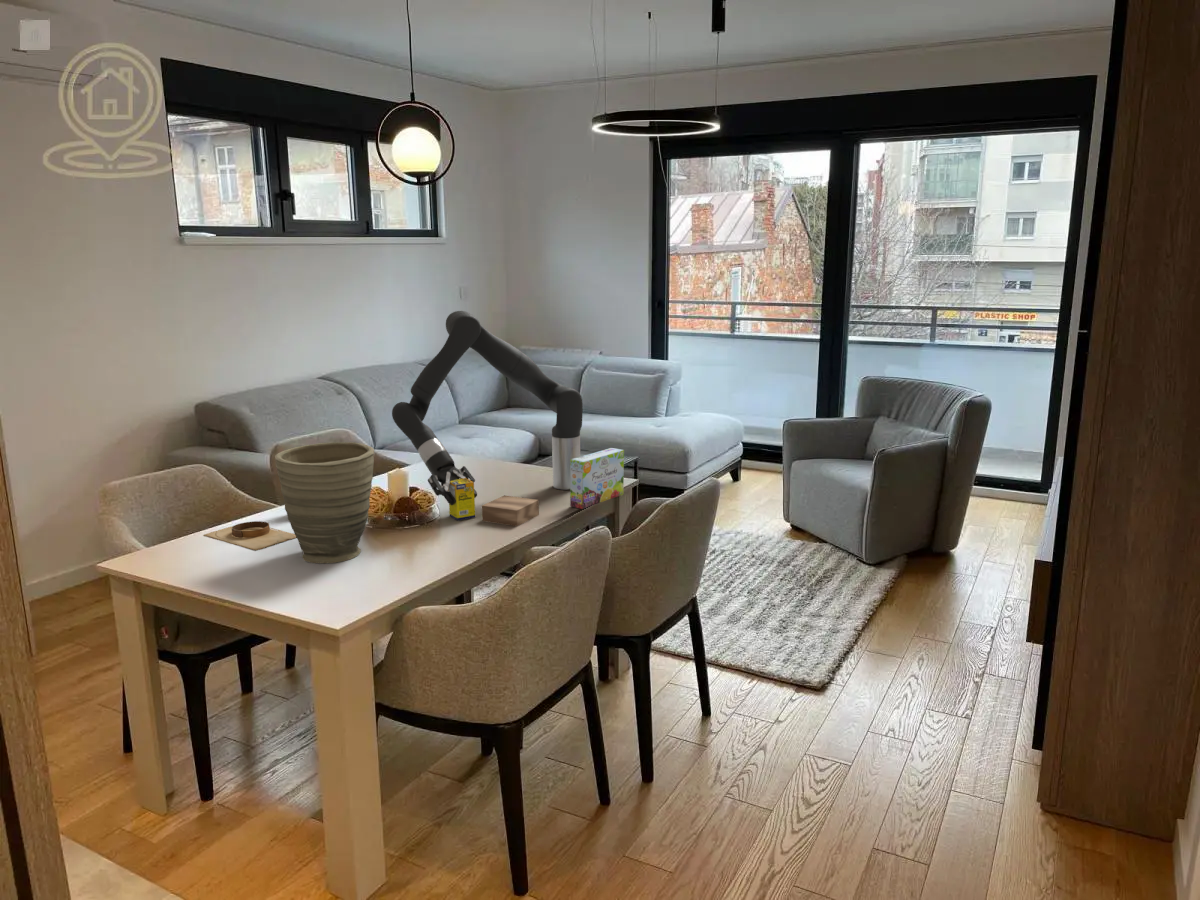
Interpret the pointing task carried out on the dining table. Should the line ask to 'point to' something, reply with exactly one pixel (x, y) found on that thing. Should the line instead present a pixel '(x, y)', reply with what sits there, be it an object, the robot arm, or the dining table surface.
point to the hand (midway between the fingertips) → (464, 500)
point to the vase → (327, 497)
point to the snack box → (596, 477)
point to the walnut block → (510, 510)
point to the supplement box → (462, 499)
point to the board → (251, 535)
